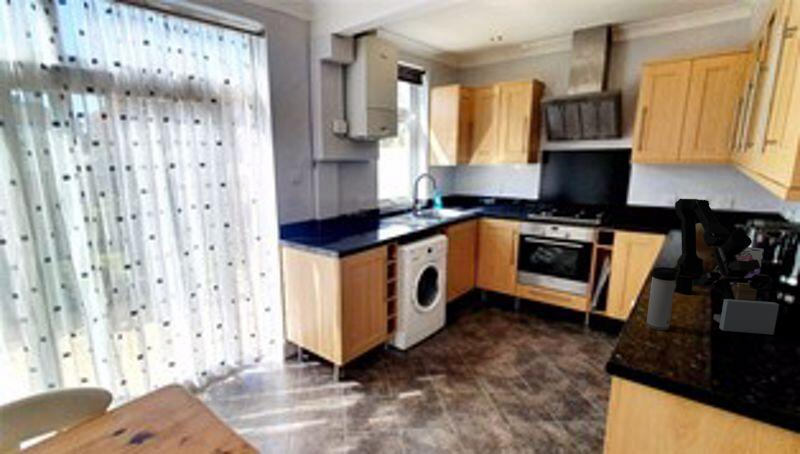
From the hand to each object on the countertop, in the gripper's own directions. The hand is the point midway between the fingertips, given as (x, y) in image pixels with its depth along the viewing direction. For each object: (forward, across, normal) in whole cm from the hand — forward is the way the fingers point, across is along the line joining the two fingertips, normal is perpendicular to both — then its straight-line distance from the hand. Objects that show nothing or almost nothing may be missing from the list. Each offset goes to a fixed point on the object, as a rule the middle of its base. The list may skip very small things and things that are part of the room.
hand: (743, 303), depth 126 cm
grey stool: (+5, 0, +7) cm, 8 cm away
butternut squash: (-43, +23, +56) cm, 74 cm away
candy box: (-34, +32, +46) cm, 65 cm away
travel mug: (+10, -26, +2) cm, 28 cm away
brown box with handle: (+4, 0, +6) cm, 7 cm away
